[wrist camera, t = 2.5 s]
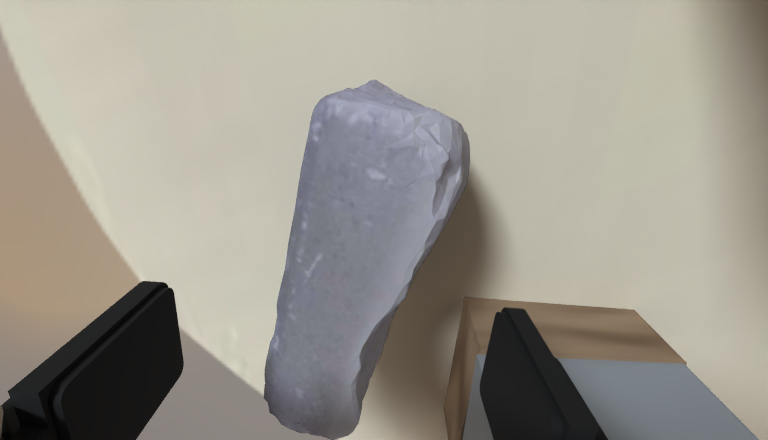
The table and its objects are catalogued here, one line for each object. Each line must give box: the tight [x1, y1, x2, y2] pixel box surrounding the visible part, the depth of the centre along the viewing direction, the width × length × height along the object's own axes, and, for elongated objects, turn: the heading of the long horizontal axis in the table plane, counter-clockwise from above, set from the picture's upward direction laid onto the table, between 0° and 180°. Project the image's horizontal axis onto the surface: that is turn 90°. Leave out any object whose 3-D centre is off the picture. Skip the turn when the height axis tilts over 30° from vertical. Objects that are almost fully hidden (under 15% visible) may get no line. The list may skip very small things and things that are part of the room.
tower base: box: [444, 297, 686, 440], centre depth 22 cm, size 9×10×4 cm
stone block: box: [264, 80, 470, 440], centre depth 15 cm, size 12×5×10 cm, turn 163°
